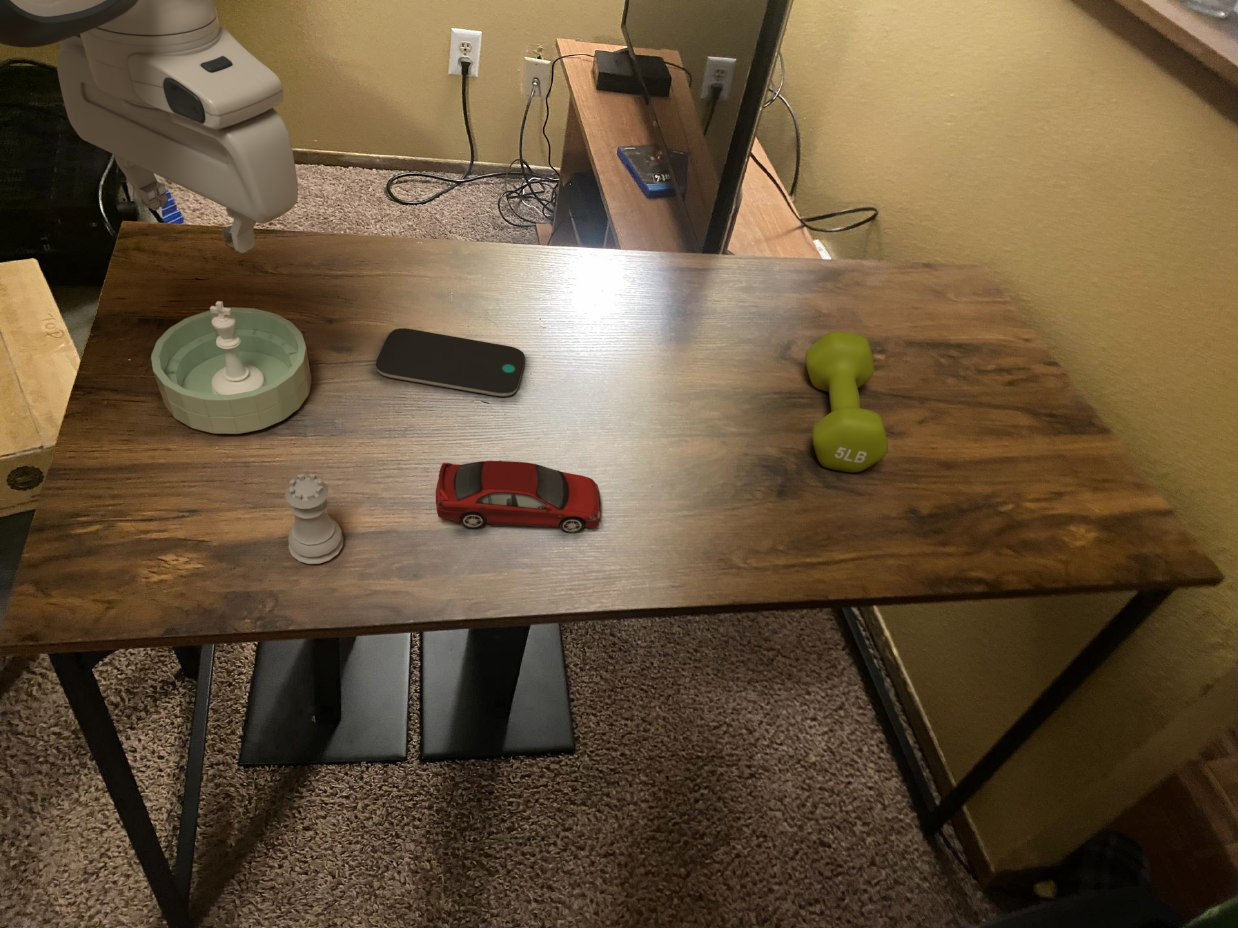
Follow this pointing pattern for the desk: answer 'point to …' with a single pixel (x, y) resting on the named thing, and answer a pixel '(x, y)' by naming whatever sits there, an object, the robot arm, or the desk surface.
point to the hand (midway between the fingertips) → (197, 226)
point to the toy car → (516, 496)
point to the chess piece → (232, 358)
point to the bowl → (195, 358)
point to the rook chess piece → (312, 522)
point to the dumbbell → (845, 403)
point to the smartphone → (451, 362)
